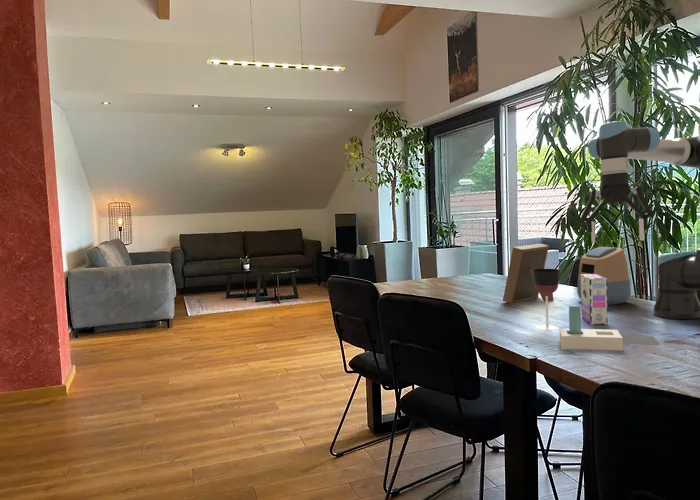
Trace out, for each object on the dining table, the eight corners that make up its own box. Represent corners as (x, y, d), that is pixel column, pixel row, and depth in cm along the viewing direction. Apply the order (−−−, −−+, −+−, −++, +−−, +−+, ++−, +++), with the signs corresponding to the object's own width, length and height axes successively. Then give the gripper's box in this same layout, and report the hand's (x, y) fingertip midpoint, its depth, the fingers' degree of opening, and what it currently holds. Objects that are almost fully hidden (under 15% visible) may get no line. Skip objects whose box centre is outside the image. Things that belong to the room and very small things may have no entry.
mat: (652, 337, 160) (652, 336, 160) (660, 345, 151) (660, 344, 151) (616, 336, 164) (616, 335, 164) (622, 344, 154) (622, 343, 154)
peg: (581, 344, 156) (580, 305, 156) (581, 347, 153) (580, 307, 153) (569, 344, 158) (568, 305, 157) (570, 347, 155) (569, 306, 154)
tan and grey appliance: (573, 300, 228) (572, 247, 227) (608, 297, 231) (607, 245, 230) (598, 306, 212) (597, 250, 210) (635, 303, 215) (634, 247, 213)
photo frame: (502, 302, 231) (501, 246, 229) (529, 296, 245) (529, 243, 243) (533, 306, 219) (532, 247, 218) (559, 299, 233) (559, 243, 231)
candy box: (608, 325, 179) (607, 278, 178) (590, 325, 180) (589, 278, 179) (597, 317, 193) (597, 273, 192) (580, 317, 194) (579, 273, 193)
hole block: (617, 342, 156) (617, 329, 156) (622, 351, 147) (622, 337, 147) (559, 341, 162) (559, 328, 161) (561, 349, 152) (561, 336, 152)
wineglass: (538, 324, 186) (537, 268, 185) (564, 326, 181) (562, 269, 179) (530, 328, 180) (529, 271, 179) (556, 331, 175) (555, 271, 173)
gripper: (657, 169, 160) (659, 238, 162) (569, 177, 168) (572, 242, 170) (663, 168, 153) (666, 240, 155) (571, 176, 161) (575, 244, 163)
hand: (617, 241), depth 162 cm, fingers open, 13 cm apart
